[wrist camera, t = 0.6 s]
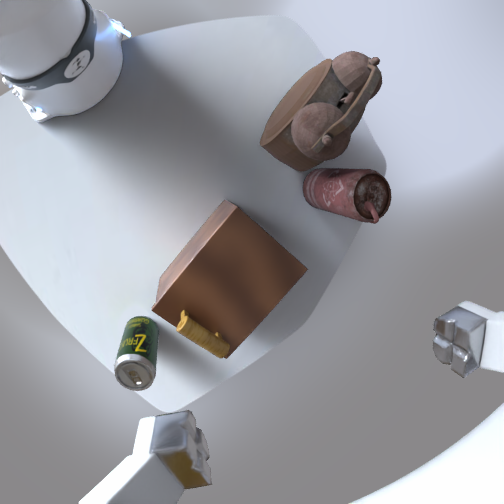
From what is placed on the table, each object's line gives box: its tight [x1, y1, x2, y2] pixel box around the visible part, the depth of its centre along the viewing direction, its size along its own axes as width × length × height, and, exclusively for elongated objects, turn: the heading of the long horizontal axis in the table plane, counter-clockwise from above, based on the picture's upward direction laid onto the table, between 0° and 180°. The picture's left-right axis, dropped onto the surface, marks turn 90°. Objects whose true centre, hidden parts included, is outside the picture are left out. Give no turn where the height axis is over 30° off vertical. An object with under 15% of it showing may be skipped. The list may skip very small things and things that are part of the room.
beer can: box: [114, 316, 159, 391], centre depth 37 cm, size 5×5×12 cm
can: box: [303, 168, 391, 224], centre depth 37 cm, size 6×6×14 cm
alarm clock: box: [260, 51, 382, 172], centre depth 31 cm, size 15×7×20 cm, turn 147°
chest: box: [156, 200, 236, 302], centre depth 39 cm, size 15×12×9 cm
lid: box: [151, 206, 308, 359], centre depth 33 cm, size 15×12×5 cm
